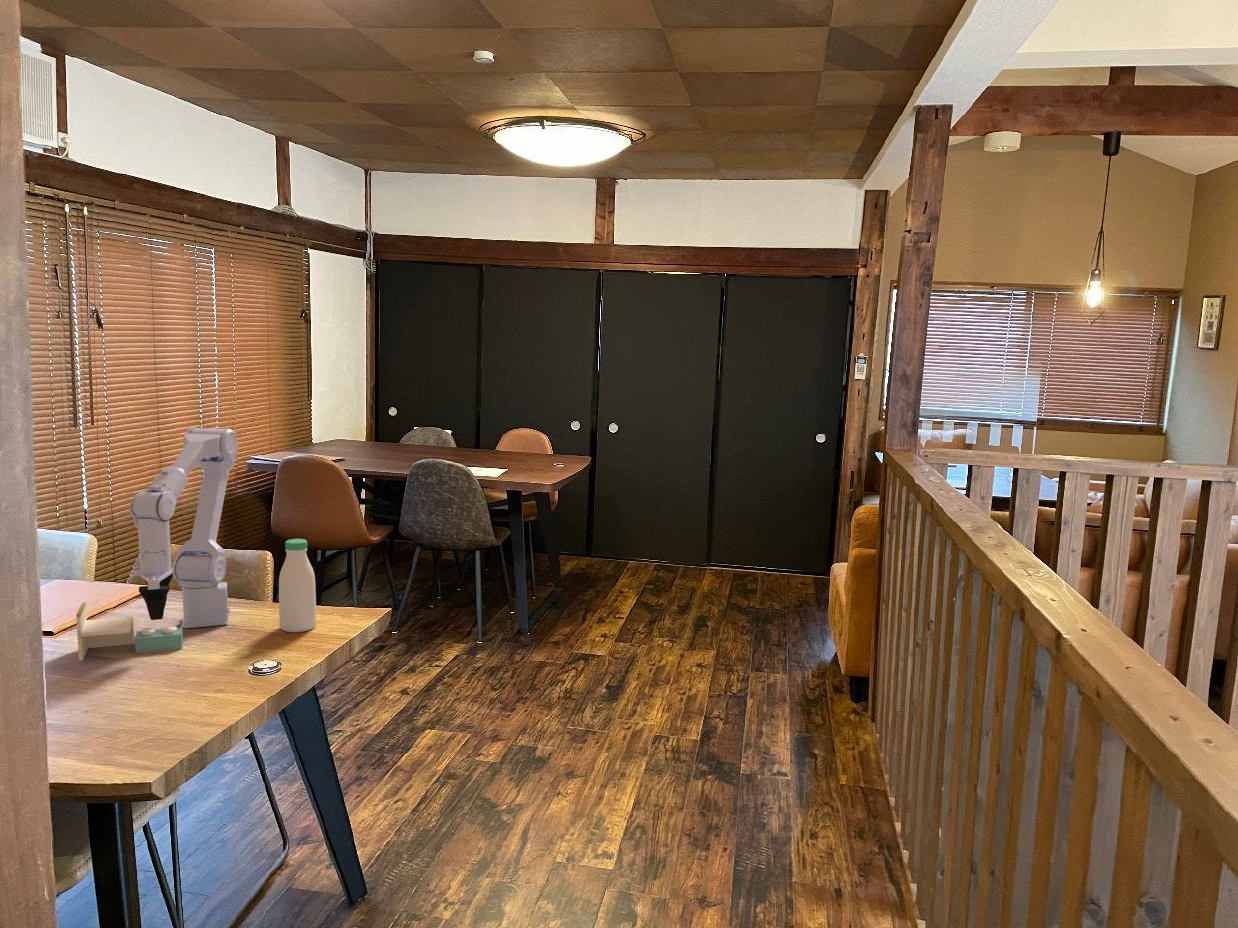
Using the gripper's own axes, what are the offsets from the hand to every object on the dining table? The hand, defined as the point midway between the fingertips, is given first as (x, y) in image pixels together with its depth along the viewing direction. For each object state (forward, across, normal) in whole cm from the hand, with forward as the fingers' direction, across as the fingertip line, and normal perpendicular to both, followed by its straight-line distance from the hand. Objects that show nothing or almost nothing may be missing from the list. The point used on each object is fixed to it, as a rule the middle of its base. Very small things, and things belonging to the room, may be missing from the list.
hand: (158, 613), depth 186 cm
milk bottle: (+8, -4, +27) cm, 29 cm away
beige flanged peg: (+7, 0, -10) cm, 12 cm away
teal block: (+8, 0, 0) cm, 8 cm away
